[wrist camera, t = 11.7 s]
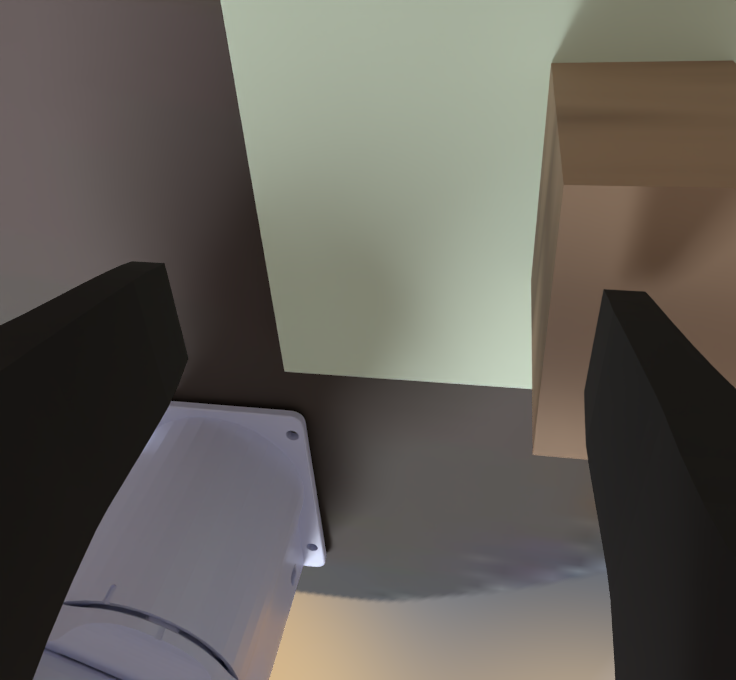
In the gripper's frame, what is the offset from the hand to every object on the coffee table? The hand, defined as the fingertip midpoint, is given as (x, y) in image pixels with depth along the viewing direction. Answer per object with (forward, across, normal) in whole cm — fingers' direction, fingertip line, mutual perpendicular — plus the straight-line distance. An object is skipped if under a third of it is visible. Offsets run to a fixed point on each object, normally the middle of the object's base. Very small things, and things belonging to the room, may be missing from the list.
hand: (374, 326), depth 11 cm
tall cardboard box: (+8, -5, +1) cm, 10 cm away
